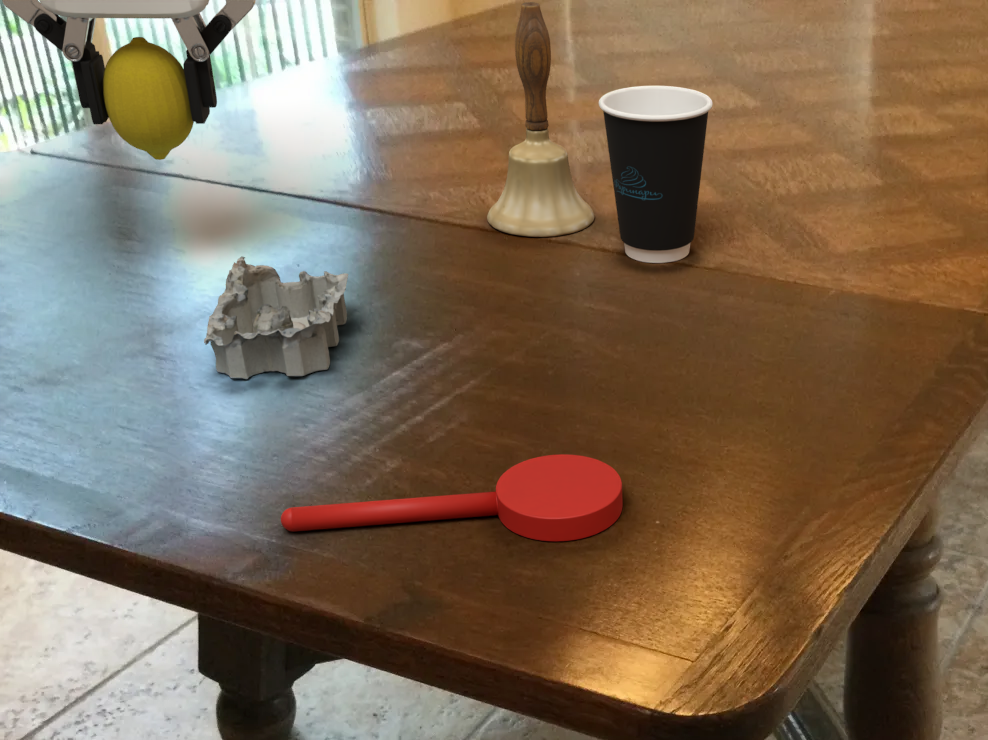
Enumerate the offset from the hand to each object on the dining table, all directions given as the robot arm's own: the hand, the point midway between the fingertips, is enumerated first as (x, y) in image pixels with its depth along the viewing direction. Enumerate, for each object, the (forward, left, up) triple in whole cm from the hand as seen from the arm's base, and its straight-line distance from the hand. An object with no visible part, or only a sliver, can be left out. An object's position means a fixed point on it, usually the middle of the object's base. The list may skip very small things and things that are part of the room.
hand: (152, 115), depth 90 cm
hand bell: (+26, +6, -11) cm, 29 cm away
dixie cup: (+34, -2, -11) cm, 35 cm away
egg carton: (+8, -14, -11) cm, 20 cm away
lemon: (0, 0, -3) cm, 3 cm away
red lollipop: (+18, -37, -11) cm, 42 cm away
